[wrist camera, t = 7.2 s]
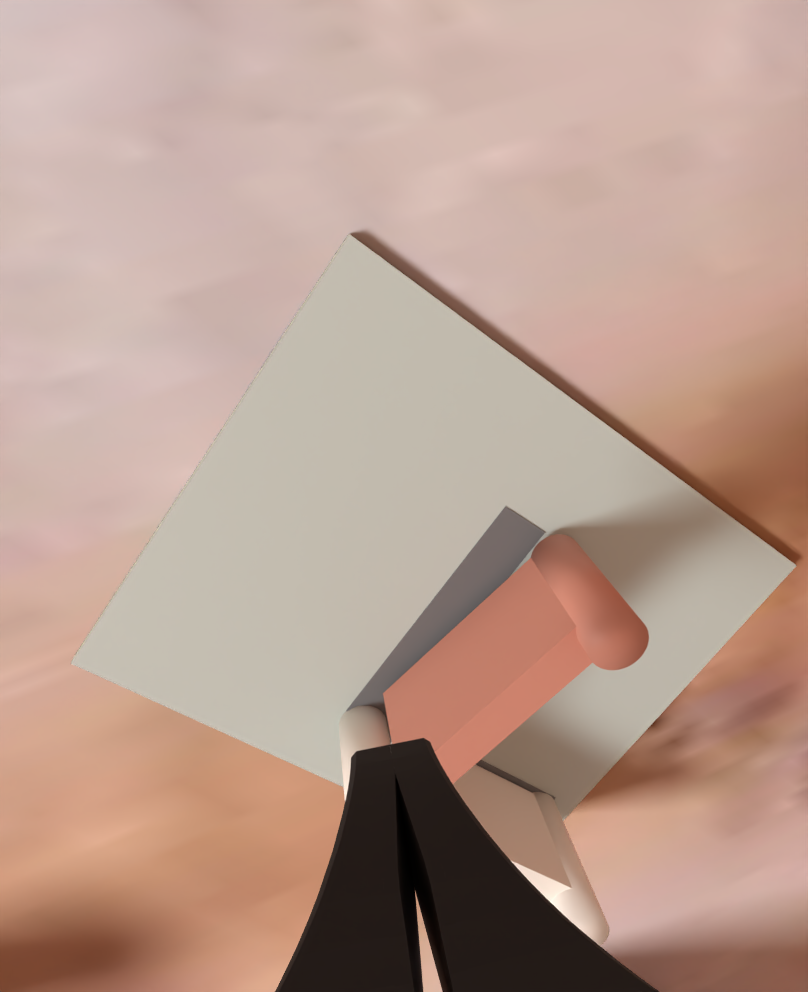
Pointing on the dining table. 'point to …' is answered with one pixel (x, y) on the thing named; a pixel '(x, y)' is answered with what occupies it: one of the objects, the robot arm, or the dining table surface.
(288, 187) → the dining table surface
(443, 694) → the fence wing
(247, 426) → the card
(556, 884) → the fence base
